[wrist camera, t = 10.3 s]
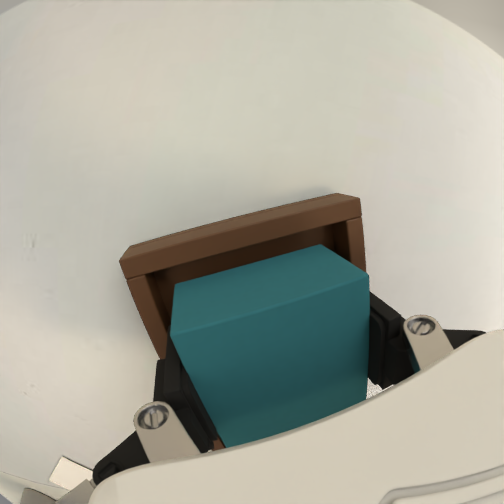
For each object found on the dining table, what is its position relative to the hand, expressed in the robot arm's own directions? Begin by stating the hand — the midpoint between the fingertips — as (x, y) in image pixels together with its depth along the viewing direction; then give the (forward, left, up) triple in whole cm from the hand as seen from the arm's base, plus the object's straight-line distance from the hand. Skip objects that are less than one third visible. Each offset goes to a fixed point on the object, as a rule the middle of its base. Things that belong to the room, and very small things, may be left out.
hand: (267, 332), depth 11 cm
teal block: (0, 0, -1) cm, 1 cm away
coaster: (+15, -19, -2) cm, 24 cm away
